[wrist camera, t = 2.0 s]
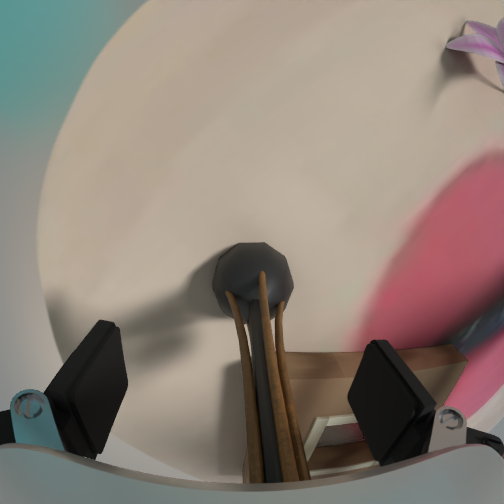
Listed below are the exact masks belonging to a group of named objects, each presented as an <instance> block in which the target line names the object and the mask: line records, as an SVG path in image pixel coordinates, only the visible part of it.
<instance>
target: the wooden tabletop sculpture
mask: <svg viewBox="0 0 504 504" xmlns="http://www.w3.org/2000/svg"><path fill="white" fill-rule="evenodd" d="M212 287H213V291H214V293H215V295H216V298H217V300H218V302H219V305H220V307H221V309H222V311H223V312H224V313H226V314H227V315H229V316H231V317H232V318H234V320H235V325H236V329H237V334H238V339H239V346H240V354H241V362H242V370H243V382H244V397H245V411H246V425H247V443H248V462H249V480H250V484H261V483H284V482H297V481H307V480H311V476H310V472H309V467H308V463H307V459H306V454H305V450H304V446H303V441H302V437H301V433H300V428H299V424H298V419H297V414H296V409H295V405H294V400H293V395H292V390H291V386H290V381H289V376H288V369H287V363H286V356H285V350H284V343H283V328H282V317H283V311H284V310H285V308H286V306H287V303H288V301H289V298H290V296H291V293H292V291H293V288H294V284H293V280H292V276H291V273H290V270H289V266H288V263H287V260H286V258H285V256H284V255H282V254H281V253H279V252H278V251H276V250H275V249H274V248H272V247H271V246H269V245H268V244H266V243H265V242H261V243H239V244H237V245H236V246H235V247H233V248H232V249H230V250H229V251H228V252H226V253H225V254H224V255H222V256H221V257H220V258H219V261H218V264H217V267H216V271H215V274H214V278H213V282H212ZM273 318H275V348H276V354H275V348H274V342H273V336H272V329H271V323H270V320H271V319H273ZM244 324H247V327H248V331H249V336H250V343H251V352H252V364H253V369H252V364H251V358H250V352H249V346H248V340H247V335H246V332H245V328H244ZM276 357H277V360H276Z"/></svg>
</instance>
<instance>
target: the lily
mask: <svg viewBox="0 0 504 504" xmlns="http://www.w3.org/2000/svg"><path fill="white" fill-rule="evenodd" d="M466 23H467V24H468V25H469V26H470V27H471V29H472V30H473V31H474V32H475V33H476V34H468V35H464V36H461V37H458V38H456V39H454V40H452V41H450V42H449V43H447V45H446V48H448V49H453V50H459V51H465V52H471V53H475V54H479V55H482V56H486V57H489V58H491V59H494V60H496V67H497V71H498V74H499V77H500V80H501V82H502V85H503V87H504V18H502V19H501V20H500V21H499V23H498V25H497V28H494V27H492V26H490V25H487V24H483V23H480V22H475V21H466Z"/></svg>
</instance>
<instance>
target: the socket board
mask: <svg viewBox="0 0 504 504" xmlns="http://www.w3.org/2000/svg"><path fill="white" fill-rule="evenodd" d="M395 351H396V352H397V353H398V354H399V356H400V357H401V358H402V359H403V361H404V362H405V363H406V364H407V366H408V367H409V368H410V369H411V371H412V372H413V373H414V374H415V376H416V377H417V378H418V379H419V381H420V382H421V383H422V385H423V386H424V387H425V388H426V390H427V391H428V392H429V394H430V395H431V396H432V398H433V399H434V400H435V402H436V403H437V404H436V406H435V408H434V409H435V411H437V410H438V409H439V408H441V407H442V406H443V405H444V403H445V401H446V400H447V398H448V397H449V395H450V393H451V392H452V390H453V388H454V386H455V385H456V383H457V381H458V379H459V378H460V376H461V374H462V372H463V370H464V368H465V366H466V365H467V363H468V360H467V359H466V358H465V357H464V356H463V355H462V354H461V353H460V352H459V351H458V350H457V349H456V348H455V347H454V346H453V345H452V344H448V345H440V346H432V347H423V348H413V349H401V350H395ZM275 354H276V352H275ZM363 354H364V352H339V353H303V352H285V356H286V363H287V369H288V376H289V381H290V386H291V390H292V395H293V400H294V405H295V409H296V414H297V419H298V424H299V428H300V433H301V437H302V441H303V446H304V450H305V454H306V459H307V463H308V467H309V472H310V476H311V480H315V479H323V478H329V477H336V476H342V475H347V474H352V473H357V472H362V471H366V470H370V469H375V468H378V467H381V466H380V464H379V462H378V461H375V459H374V458H373V455H372V453H371V451H370V449H369V446H368V444H367V442H366V441H361V442H355V443H349V444H342V445H334V446H326V447H316V445H317V443H318V441H319V439H320V437H321V435H322V433H323V431H324V429H325V427H326V426H333V425H342V424H351V423H358V422H357V420H356V418H355V415H354V413H353V411H352V409H351V407H350V405H349V402H348V399H347V395H348V391H349V389H350V387H351V384H352V382H353V380H354V377H355V375H356V372H357V370H358V367H359V365H360V362H361V359H362V357H363ZM276 360H277V357H276ZM243 484H250V480H249V462H248V448H247V453H246V457H245V462H244V466H243Z"/></svg>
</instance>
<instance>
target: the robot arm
mask: <svg viewBox="0 0 504 504" xmlns="http://www.w3.org/2000/svg"><path fill="white" fill-rule="evenodd" d="M127 388H128V379H127V373H126V368H125V362H124V356H123V349H122V342H121V335H120V329H119V327H116V325H115V323H114V322H110V321H105V320H99V321H98V322H97V323H96V324H95V326H94V327H93V328H92V329H91V331H90V332H89V333H88V334H87V336H86V337H85V338H84V339H83V341H82V342H81V343H80V345H79V346H78V347H77V349H76V350H75V351H74V352H73V353H72V354H71V355H70V357H69V358H68V359H67V361H66V362H65V363H64V365H63V366H62V368H61V369H60V370H59V372H58V373H57V374H56V376H55V377H54V379H53V380H52V381H51V383H50V384H49V386H48V387H47V389H46V390H45V391H44V393H42V392H40V391H38V390H33V389H29V390H23V391H21V392H19V393H17V394H16V395H15V396H14V397H13V399H12V401H11V405H10V410H6V411H1V412H0V504H504V445H503V443H502V441H501V439H500V438H498V437H497V436H494V435H492V434H488V433H485V432H481V431H478V430H475V429H472V428H469V427H467V422H466V418H465V416H464V415H463V413H462V412H461V411H459V410H458V409H456V408H454V407H449V406H444V407H441V408H439V409H438V410H437V411H435V409H434V408H435V406H436V404H437V403H436V402H435V400H434V399H433V398H432V396H431V395H430V394H429V392H428V391H427V390H426V388H425V387H424V386H423V385H422V383H421V382H420V381H419V379H418V378H417V377H416V376H415V374H414V373H413V372H412V371H411V369H410V368H409V367H408V366H407V364H406V363H405V362H404V361H403V359H402V358H401V357H400V356H399V354H398V353H397V352H396V351H395V350H394V348H393V347H392V346H391V345H390V343H389V342H388V341H387V340H373V341H371V342H370V344H368V345H367V346H366V349H365V351H364V354H363V357H362V359H361V362H360V365H359V367H358V370H357V372H356V375H355V377H354V380H353V382H352V384H351V387H350V389H349V391H348V395H347V399H348V402H349V405H350V407H351V409H352V411H353V413H354V415H355V418H356V420H357V422H358V424H359V426H360V429H361V431H362V433H363V435H364V437H365V440H366V442H367V444H368V446H369V449H370V451H371V453H372V455H373V458H374V459H375V461H378V462H379V464H380V466H381V467H378V468H375V469H370V470H366V471H362V472H357V473H352V474H347V475H342V476H336V477H329V478H323V479H315V480H307V481H297V482H284V483H261V484H239V483H216V482H202V481H192V480H184V479H176V478H169V477H163V476H158V475H152V474H147V473H142V472H138V471H133V470H129V469H124V468H120V467H116V466H112V465H109V464H105V463H102V462H98V461H95V459H96V456H97V454H101V453H102V451H103V449H104V447H105V444H106V441H107V439H108V436H109V433H110V431H111V428H112V425H113V423H114V420H115V418H116V415H117V413H118V410H119V408H120V405H121V403H122V400H123V398H124V396H125V393H126V391H127ZM85 457H87V458H85ZM89 458H90V459H89ZM92 459H93V460H92Z"/></svg>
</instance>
